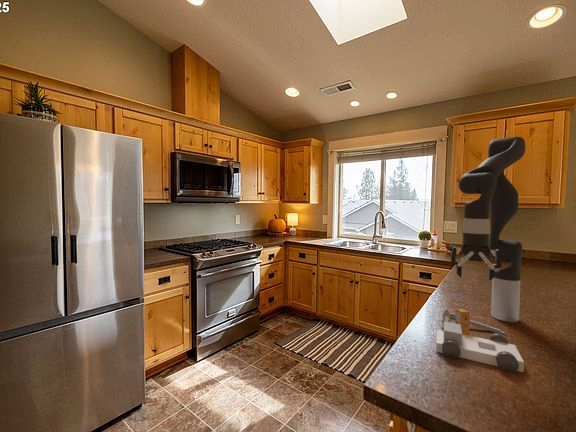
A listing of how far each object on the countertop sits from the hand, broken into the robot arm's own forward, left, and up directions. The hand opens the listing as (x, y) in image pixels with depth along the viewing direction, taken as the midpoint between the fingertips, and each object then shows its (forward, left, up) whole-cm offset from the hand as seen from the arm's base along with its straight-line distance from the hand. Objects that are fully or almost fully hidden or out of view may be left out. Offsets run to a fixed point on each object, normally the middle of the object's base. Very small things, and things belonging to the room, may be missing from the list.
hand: (474, 278), depth 94 cm
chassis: (+8, 0, -23) cm, 24 cm away
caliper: (-13, +1, -23) cm, 27 cm away
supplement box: (-2, -3, -23) cm, 23 cm away
